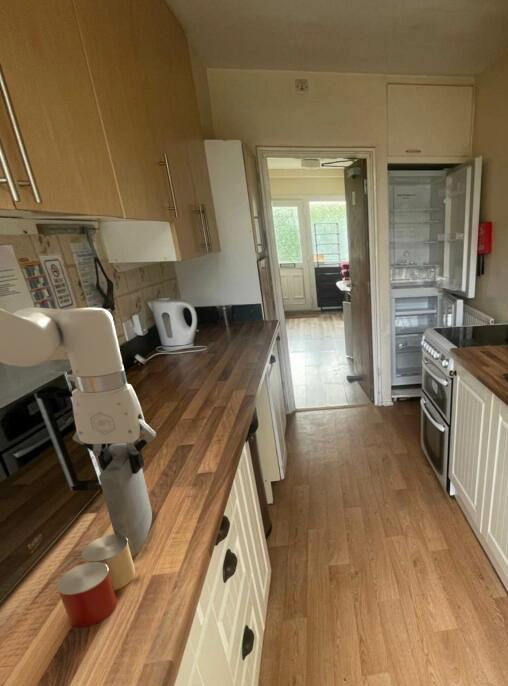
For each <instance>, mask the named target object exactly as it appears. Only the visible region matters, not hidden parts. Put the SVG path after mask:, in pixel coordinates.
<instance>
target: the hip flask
mask: <svg viewBox="0 0 508 686" xmlns="http://www.w3.org/2000/svg"><path fill="white" fill-rule="evenodd" d="M108 449H109V450H110V452H111V453H112V457H113V460H112V461H111V463H110V464H109V465H108V467H107V468H106V469H105V470H104V471H103V470H102V472H101V473H100V474H99V475H98V478H99V482H100V486H101V490H102V493H103V494H102V495H103V497H104V502H105V505H106V508H107V512H108V515H109V519H110V523H111V526H112V530H113V533H114V534H119V535H123V536H125V537H126V538H127V539H128V545H129V549H130V553H131V557H132V558H133V557H135V556H136V555H137V554H138V553H139V552H140V550H141V549H142V548H143V546H144V543H146V540H147V537H148V535H149V532H150V529H151V525H152V521H153V511H152V506H151V502H150V498H149V493H148V487H147V484H146V480H145V475H144V470H143V467H142V468H141V469H140V470H139V472H138V473H137V474H133V473H132V469H131V465H130V461H129V455H130V454H131V453H130V451H129V449H128V447H127V445H126V443H119V444H110V446H109V447H108Z"/></svg>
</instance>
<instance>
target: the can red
mask: <svg viewBox="0 0 508 686" xmlns="http://www.w3.org/2000/svg"><path fill="white" fill-rule="evenodd" d="M56 582H57V583H56V590H57V592H58V594H59V596H60V600H61V601H62V602H61V603H62V605H63V607H64V609H65V613H66V615H67V618H68V620H69V623H70V625H72V626H74V627H77V628H84V627H85V628H86V627H91V626H94V625H96V624H99V623H100V622H103V621H104V620H105V619H107V618H108V617H110V615H111V614H113V612H114V611H115V609H116V608H117V604H118V599H117V595H116V593H115V591H114V589H113V586H112V582H111V579H110V576H109V572H108V567H107V565H106V564H104V563H101V562H90V563H85V562H84V563H82V564H79V565H77V566H74V567H73V568H71V569H69V570H68V571H66V572H65V573H63V575H61V576H60V578H59V579H58V581H56Z"/></svg>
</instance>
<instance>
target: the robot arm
mask: <svg viewBox="0 0 508 686" xmlns="http://www.w3.org/2000/svg"><path fill="white" fill-rule="evenodd" d="M118 340H119V339H118V336H117V331H116V327H115V323H114V318H113V316H112V314H111V313H110V312H109V310H107V309H105V308H101V307H77V308H70V309H61V308H59V309H58V308H47V307H25V308H22V309H19V310H17V311H15V312H13V313H12V312H9V311H7V310H5V309H3V308H0V363H2V364H5V365H10V366H14V367H20V368H24V367H25V368H28V367H35V366H38V365H41V364H43V363H45V362H46V361H47V360H48V359H50V358H51V357H52V355H53V354H54V353H56V352H59V351H60V350H61V351H62V350H65V351H66V354H67V357H68V361H69V365H70V368H71V374H70V373H69V374H67V376H66V379H67V382H69V383H74V386H75V389H73V390H72V413H73V419H74V425H75V429H76V430H75V433H74V435H73V436H72V441H75V442H77V443H78V444H80V445H82V446H84V447H85V448H86V449H88V450H89V451H91V452H92V454H93V455H94V456H95V457H97V460H98V463H99V467H100V469H101V470H102V472H103V471H104V470H105V469H106V468H107V467H108V465H109V464H110V463H111V461H112V460H113V457H112V453H111V452H110V450H109V447H108V445H113V444H119V443H126V445H127V447H128V449H129V451H130V453H131V454H130V455H129V461H130V465H131V469H132V473H133V474H137V473H138V472H139V470H140V469H141V468H142V469H143V467H144V464H145V460H144V457H143V451H142V449H143V448H144V447H146V445H147V444H149V443H151V442H152V441H153V440H155V438H156V437H157V435H158V434H157V433H156V432H155V430H154V429H152V427H150V426H149V425H148V424H147V423H146V421H145V417H144V414H143V410H142V407H141V404H140V401H139V399H138V395H137V394H136V391H135V390H134V388H133V386H132V384H130V383H128V380H127V376H126V372H125V368H124V363H123V358H122V354H121V351H120V349H121V348H120V344H119V341H118ZM141 434H143V436H144V437H142V438H140V436H141Z"/></svg>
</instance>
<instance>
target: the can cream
mask: <svg viewBox="0 0 508 686" xmlns="http://www.w3.org/2000/svg"><path fill="white" fill-rule="evenodd" d="M81 557H82V559H83V561H84V564H85V563H90V562H101V563H104V564H106V565H107V567H108V572H109V576H110V579H111V582H112V586H113V589H114V592H115V591H117V590H120V589H121V588H123V587H125V586H127V585H128V584H129V583H130V582H132V581H133V579H134V577H135V575H136V569H135V564H134V561H133V557H131V553H130V549H129V545H128V539H127V538H126V537H125V536H123V535H119V534H107V535H103V536H101V537H98V538H96V539H94V540H92V541H91V542H89V543H88V544H87V545H86V546H85V547H84V548H83V549H82V551H81Z"/></svg>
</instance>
